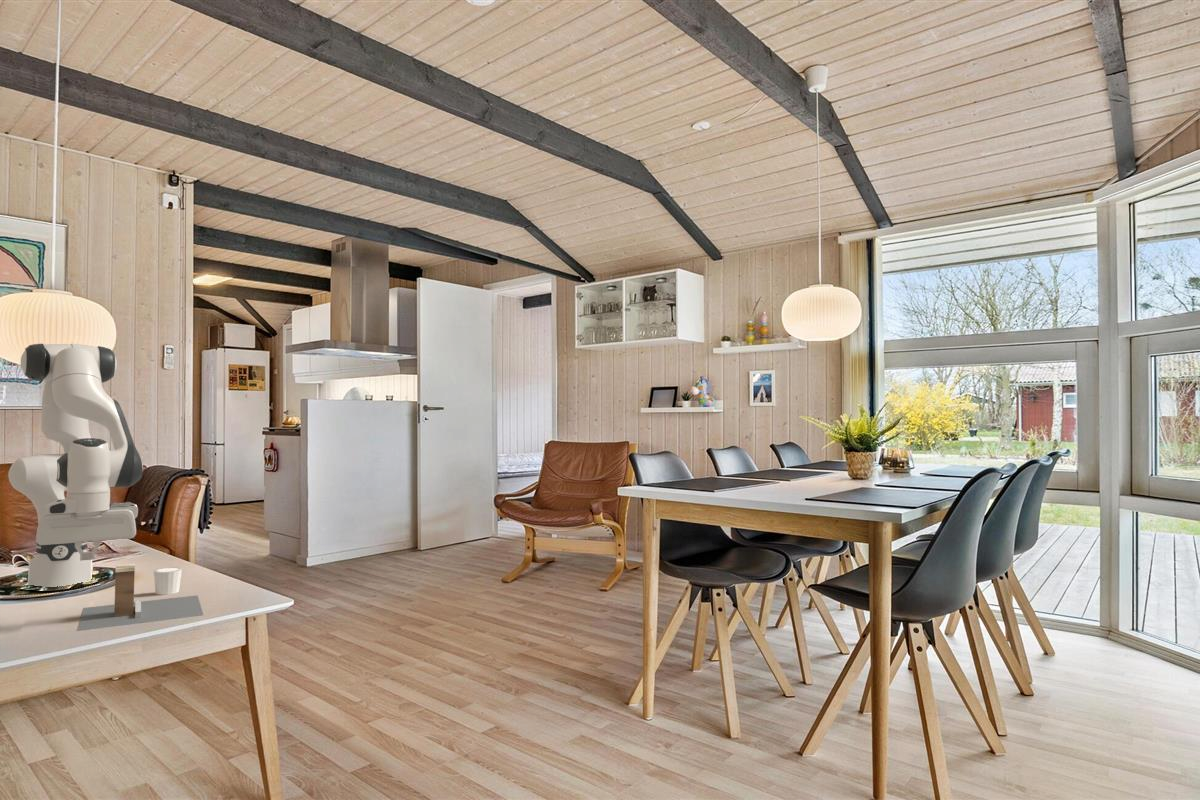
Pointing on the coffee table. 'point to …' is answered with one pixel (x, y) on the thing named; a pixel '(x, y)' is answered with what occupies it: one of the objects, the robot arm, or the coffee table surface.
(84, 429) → the robot arm
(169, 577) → the white cup
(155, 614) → the slate mat
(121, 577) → the walnut block
